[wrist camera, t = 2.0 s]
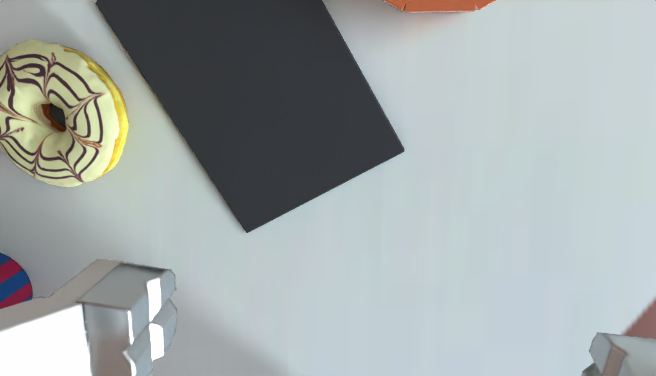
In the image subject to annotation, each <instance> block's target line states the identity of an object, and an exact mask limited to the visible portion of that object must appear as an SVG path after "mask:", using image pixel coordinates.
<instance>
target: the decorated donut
mask: <svg viewBox="0 0 656 376" xmlns="http://www.w3.org/2000/svg"><path fill="white" fill-rule="evenodd" d="M51 103H52V104H54V105H55V106H57V107H58V108H61V109H63V111H64V114H65V123H66V127H63V126H61V125H60V124H59V123H57V122H56V121H55V120H54V119H53V117H52V116H51V114H50V111H49V107H50V104H51ZM128 127H129V121H128V116H127V110H126V105H125V102H124V99H123V96H122V94H121V92H120V90H119V89H118V87H117V86H116V84H115V83H114V82H113V80H112V79H111V77H110V76H109V75H108V74H107V72H106V71H105V70H104V69H103V68H102V67H101V66H100V65H98V64H97V63H96V62H94V61H93V60H91V58H89V57H88V56H86V55H85V54H83V53H82V52H79V51H77V50H74V49H70V48H67V47H64V46H61V45H59V44H57V43H45V42H41V41H38V40H26V41H23V42H21V43H18V44H16V45H15V46H14V47H13V48H11V49H10V50H8V51H7V52H6V53H4V54H3V55H2V56H1V57H0V147H1V148H2V149H3V151H4V152H5V154H6V155H7V157H8V158H9V159H10V160H11V161H12V162H13V163H14V164H16V165H17V166H18V167H19V168H21V169H22V170H23V171H25V172H26V173H28V174H29V175H31V176H32V177H34V178H36V179H38V180H42V181H44V182H46V183H49V184H52V185H58V186H63V187H73V186H78V185H80V184H83V183H86V182H90V181H92V180H95V179H97V178H99V177H101V176H103V175H104V174H106V173H107V172H109V171H110V170H111V169H112V168H113V167H114V166H115V165H116V164H117V162H118V160H119V159H120V156H121V154H122V151H123V148H124V146H125V144H126V136H127V132H128Z"/></svg>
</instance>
